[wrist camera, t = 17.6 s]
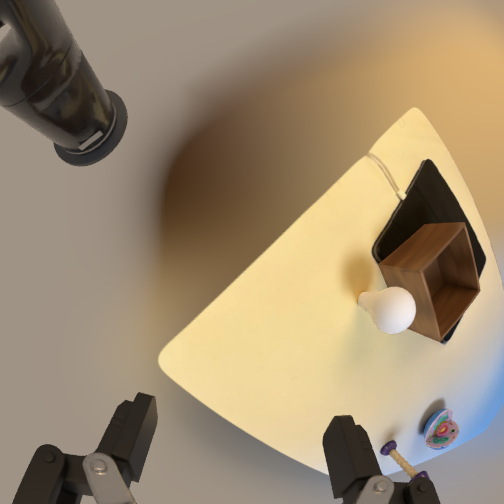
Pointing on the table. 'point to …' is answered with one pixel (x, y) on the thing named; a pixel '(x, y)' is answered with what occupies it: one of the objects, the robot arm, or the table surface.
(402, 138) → the table surface
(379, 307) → the lightbulb
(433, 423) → the cell model
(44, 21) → the robot arm
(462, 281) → the box
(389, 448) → the toy lamp
